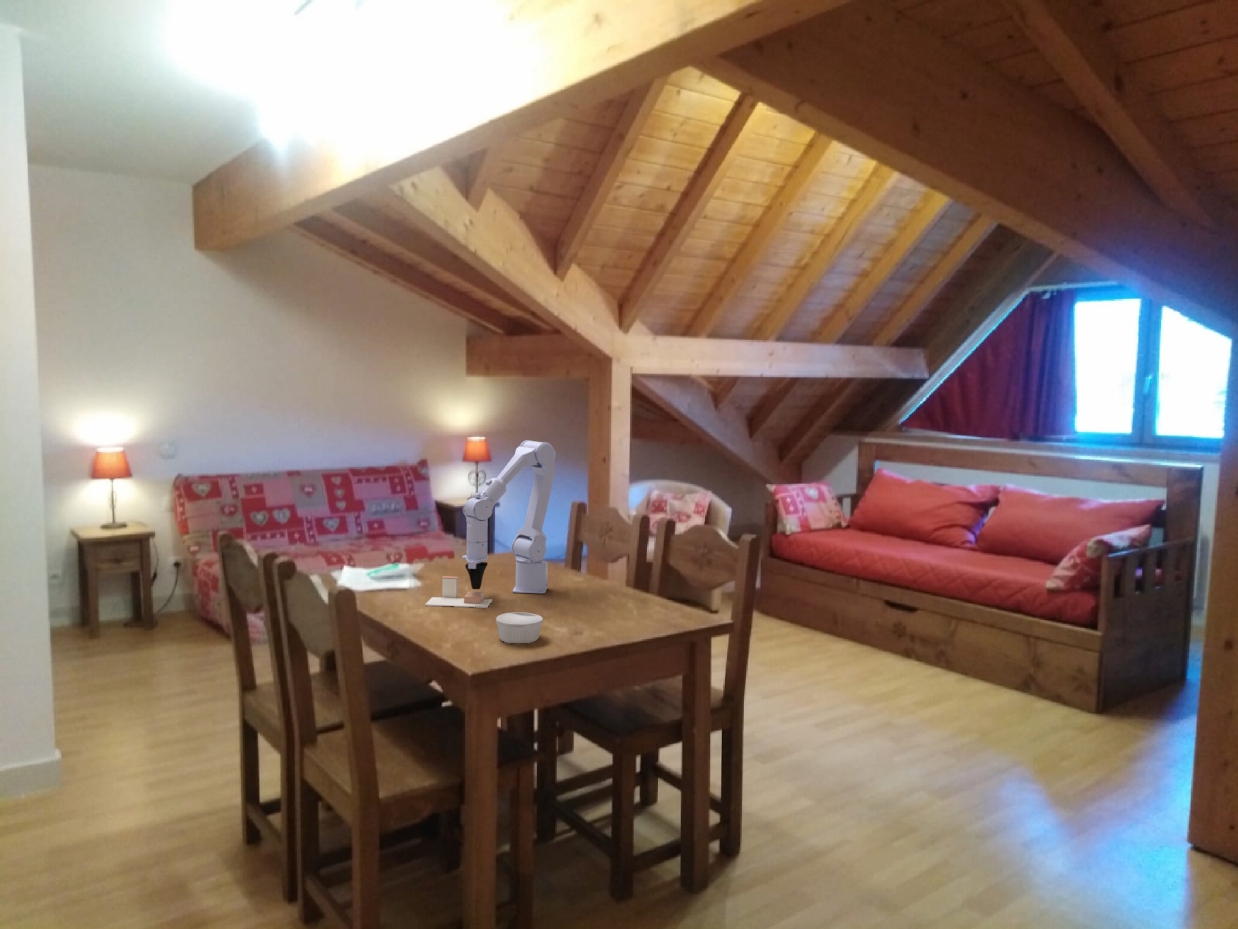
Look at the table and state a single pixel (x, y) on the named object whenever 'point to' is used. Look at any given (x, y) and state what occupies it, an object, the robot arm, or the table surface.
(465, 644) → the table surface
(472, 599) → the tile
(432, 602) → the felt mat
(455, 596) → the tile
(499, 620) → the ramekin
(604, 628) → the table surface
